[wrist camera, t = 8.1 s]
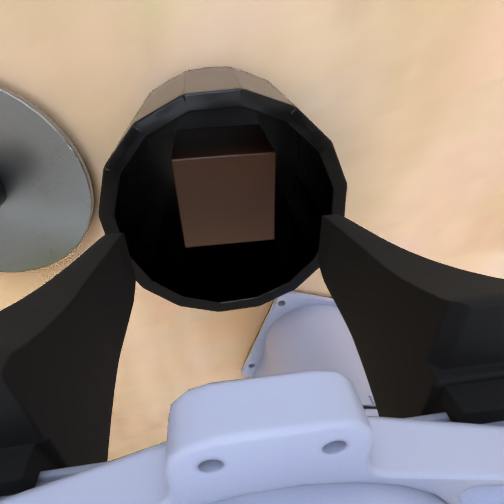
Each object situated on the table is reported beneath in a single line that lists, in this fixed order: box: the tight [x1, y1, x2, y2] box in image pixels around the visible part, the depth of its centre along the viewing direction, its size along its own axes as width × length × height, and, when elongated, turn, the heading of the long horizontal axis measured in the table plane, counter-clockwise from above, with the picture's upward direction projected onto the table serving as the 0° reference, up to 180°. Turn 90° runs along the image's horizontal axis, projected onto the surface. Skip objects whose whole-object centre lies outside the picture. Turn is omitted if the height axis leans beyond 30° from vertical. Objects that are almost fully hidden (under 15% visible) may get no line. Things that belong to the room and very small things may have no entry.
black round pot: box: [99, 67, 347, 312], centre depth 17 cm, size 10×10×6 cm
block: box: [171, 125, 276, 248], centre depth 18 cm, size 4×4×4 cm
